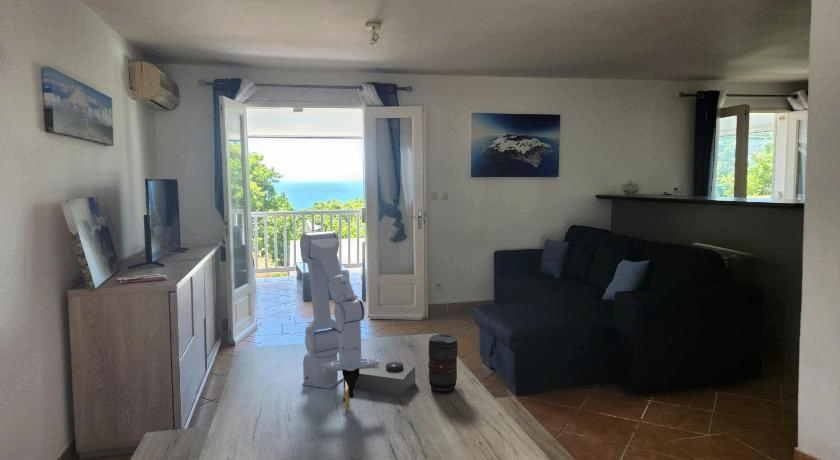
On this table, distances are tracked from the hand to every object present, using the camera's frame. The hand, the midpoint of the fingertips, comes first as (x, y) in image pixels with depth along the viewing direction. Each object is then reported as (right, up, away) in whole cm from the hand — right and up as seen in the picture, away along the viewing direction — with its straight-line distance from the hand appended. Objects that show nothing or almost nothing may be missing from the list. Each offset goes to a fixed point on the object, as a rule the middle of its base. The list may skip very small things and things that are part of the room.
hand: (351, 396), depth 136 cm
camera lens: (+24, -2, +11) cm, 27 cm away
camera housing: (+6, -1, +14) cm, 15 cm away
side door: (-2, -2, +4) cm, 5 cm away
